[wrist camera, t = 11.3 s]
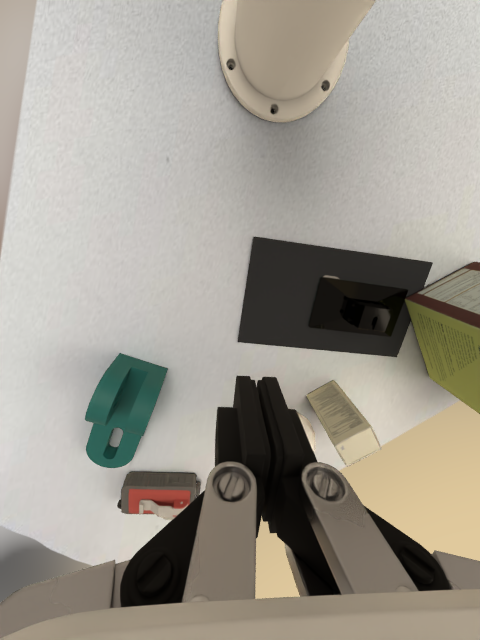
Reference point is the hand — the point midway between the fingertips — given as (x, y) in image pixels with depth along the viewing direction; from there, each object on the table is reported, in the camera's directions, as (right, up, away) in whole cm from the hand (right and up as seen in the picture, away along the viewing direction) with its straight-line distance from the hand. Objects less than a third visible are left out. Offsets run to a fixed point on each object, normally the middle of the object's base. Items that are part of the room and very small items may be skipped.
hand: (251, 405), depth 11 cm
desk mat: (+12, +6, +24) cm, 28 cm away
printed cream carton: (+13, -8, +30) cm, 34 cm away
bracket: (-17, -10, +28) cm, 34 cm away
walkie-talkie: (-11, -26, +34) cm, 44 cm away
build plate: (+15, +5, +25) cm, 30 cm away
